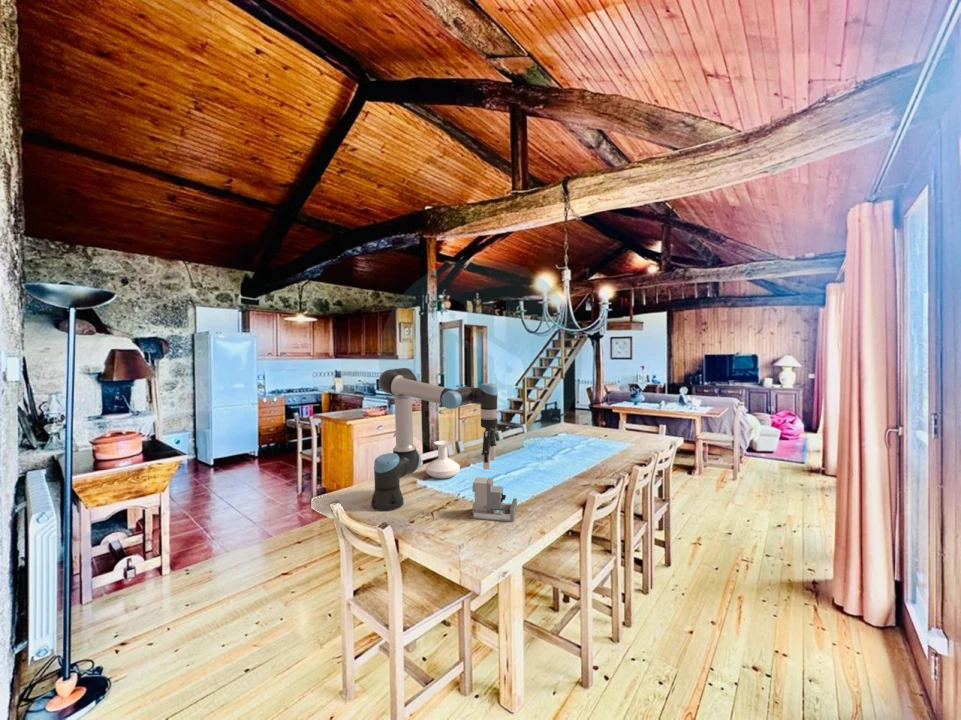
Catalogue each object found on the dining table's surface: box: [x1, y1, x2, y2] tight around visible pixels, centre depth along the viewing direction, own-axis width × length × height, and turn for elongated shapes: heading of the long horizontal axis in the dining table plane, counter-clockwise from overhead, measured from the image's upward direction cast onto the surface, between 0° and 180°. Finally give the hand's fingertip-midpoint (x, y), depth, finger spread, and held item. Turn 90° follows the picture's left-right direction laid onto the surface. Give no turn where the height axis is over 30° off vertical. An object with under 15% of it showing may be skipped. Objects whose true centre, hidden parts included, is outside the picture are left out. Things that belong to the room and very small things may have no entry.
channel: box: [473, 497, 518, 522], centre depth 184 cm, size 18×13×5 cm
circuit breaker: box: [472, 476, 507, 517], centre depth 184 cm, size 8×14×15 cm, turn 79°
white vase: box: [425, 439, 461, 479], centre depth 237 cm, size 20×20×19 cm
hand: (489, 464), depth 184 cm, fingers open, 13 cm apart
